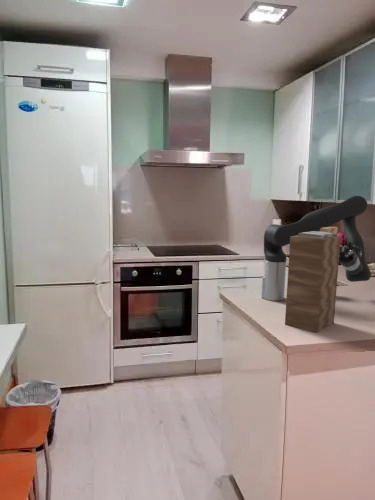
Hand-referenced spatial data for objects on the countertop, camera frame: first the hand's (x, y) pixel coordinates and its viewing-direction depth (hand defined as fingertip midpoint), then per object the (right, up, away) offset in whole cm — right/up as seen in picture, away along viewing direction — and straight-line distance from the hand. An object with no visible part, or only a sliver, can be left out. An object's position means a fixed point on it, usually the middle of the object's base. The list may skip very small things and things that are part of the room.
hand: (337, 242), depth 156 cm
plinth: (-15, -30, -12) cm, 35 cm away
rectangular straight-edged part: (-10, +2, -11) cm, 15 cm away
